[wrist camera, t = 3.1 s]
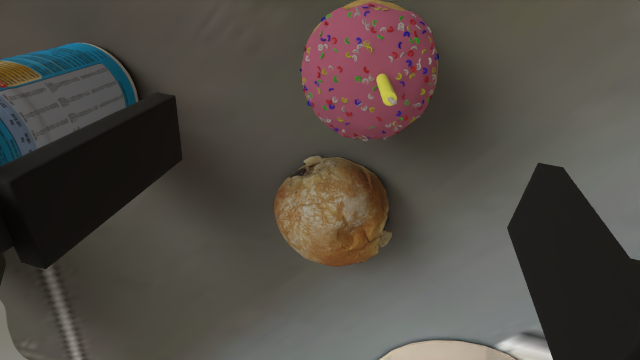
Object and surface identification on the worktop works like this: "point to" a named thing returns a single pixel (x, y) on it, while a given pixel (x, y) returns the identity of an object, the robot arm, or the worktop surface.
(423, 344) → the kettle
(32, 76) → the beverage bottle
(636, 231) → the worktop surface
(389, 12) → the cupcake
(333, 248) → the bread roll
